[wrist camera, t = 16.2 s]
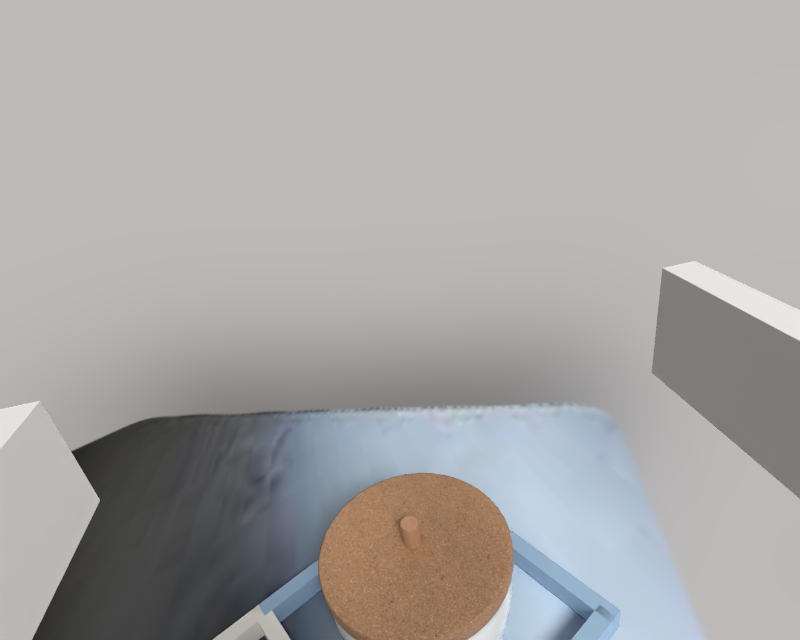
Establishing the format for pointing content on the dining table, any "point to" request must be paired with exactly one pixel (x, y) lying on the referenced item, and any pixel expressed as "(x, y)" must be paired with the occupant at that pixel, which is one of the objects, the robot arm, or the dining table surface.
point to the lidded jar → (418, 562)
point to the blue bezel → (525, 556)
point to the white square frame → (255, 627)
